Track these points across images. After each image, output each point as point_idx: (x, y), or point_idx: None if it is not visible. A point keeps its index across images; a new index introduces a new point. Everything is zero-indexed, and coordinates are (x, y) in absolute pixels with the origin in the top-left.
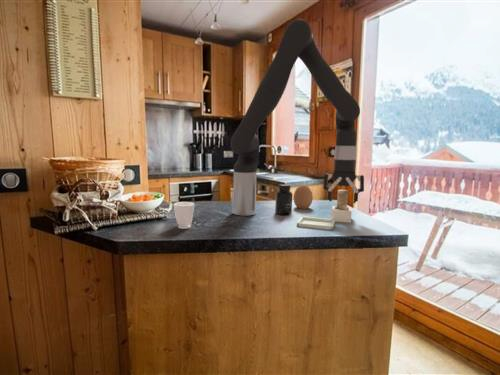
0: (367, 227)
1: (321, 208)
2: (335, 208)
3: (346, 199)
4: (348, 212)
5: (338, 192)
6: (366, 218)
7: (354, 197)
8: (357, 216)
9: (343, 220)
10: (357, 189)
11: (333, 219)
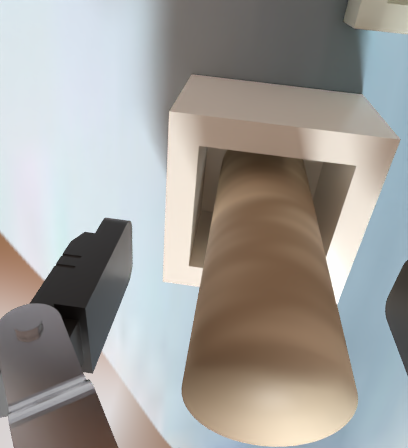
0: (55, 20)
1: None
2: None
3: (215, 258)
4: (204, 110)
5: (347, 351)
6: None
7: (100, 262)
8: (133, 310)
9: (253, 89)
10: (2, 370)
11: (371, 21)
